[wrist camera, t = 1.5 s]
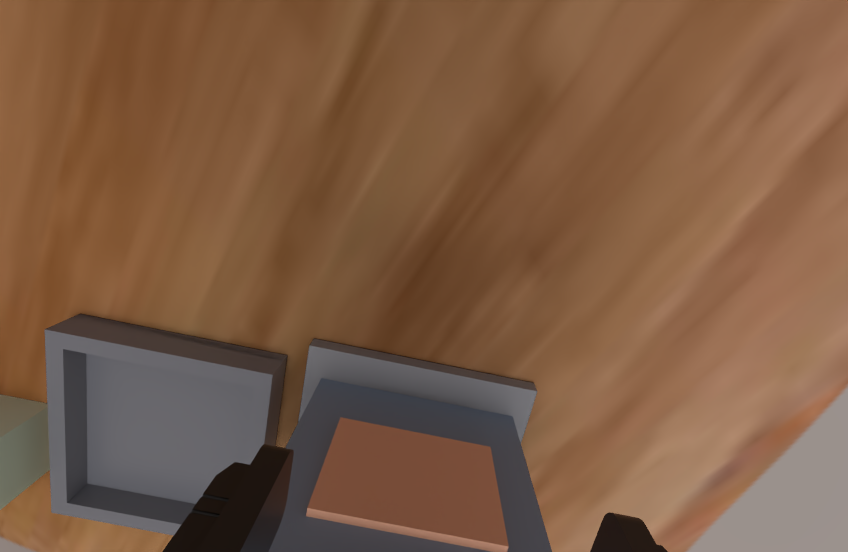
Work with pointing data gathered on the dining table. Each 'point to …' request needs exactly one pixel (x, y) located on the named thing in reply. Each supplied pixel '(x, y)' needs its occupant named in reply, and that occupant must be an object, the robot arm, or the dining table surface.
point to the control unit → (408, 458)
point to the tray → (150, 418)
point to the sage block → (22, 445)
